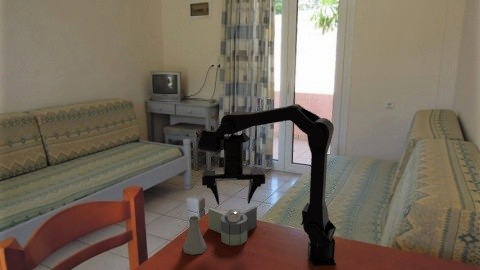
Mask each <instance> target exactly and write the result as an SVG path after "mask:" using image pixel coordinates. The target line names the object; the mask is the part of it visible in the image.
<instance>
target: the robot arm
mask: <svg viewBox="0 0 480 270" xmlns="http://www.w3.org/2000/svg"><path fill="white" fill-rule="evenodd" d="M286 121H291V122H292V123H293V124H294V125H295V126H296V127H297V128H298V129H299V130H300V131H301V132H303V133H304V134H305V135H306V136H307V144H308V148H309V151H310V154H311V157H310V159H311V160H310V162H311V163H310V182H309V202H306V204H305V205H304V207H303V209H302V210H301V217H302V218H301V223H300V225H301V226H302V227H303V231H304V232H305V233H306V234H307V235H308V236H307V237H308V238H309V241H308V242H307V256H308V258H309V259H310V261H311V263H312V265H313V266H320V265H321V266H325V265H326V266H327V265H336V264H337V261H336V259H335V252H336V251H335V250H336V240H335V238H334V234H335V233H336V230H337V227H336V226H335V224H334V223H333V222H332V221H331V220H330V218H329V211H328V207H327V203H326V188H327V187H326V185H327V184H326V183H327V170H328V169H327V167H328V153H329V150H330V146H331V144H332V143H331V142H332V139H333V135H334V131H335V127H334V124H333V122H332V121H331V120H330V119H328V118H324V117H321V116H319V115H318V114H316V113H314V112H312V111H310V110H308V109H306V108H304V107H303V106H302V105H301V104H298V103H293V104H291V105H287V106H282V107H275V108H270V109H264V110H261V111H260V110H259V111H255V112H254V111H253V112H252V111H251V112H250V111H234V112H231V113H228V114H225V115H223V116H222V118H221V120H220V125H219V126H218V127H217V129H216V130H212V129H209V128H205V129H202V130H201V133H202V134H201V135H200V138H199V141H198V149H199V150H200V151H201V152H206V153H214V154H220V153H221V152H222V151H223V156H221V157H218V167H219V168H223V173H218V174H217V173H216V170H204V171H202V173H201V185H202V186H204V187H205V186H206V188H207V189H210V190H211V192H212V194H213V196H214V199H215V201H216V203H217V205H219V206H220V196H219V190H218V182H220V181H221V182H222V181H248V184H249V185H248V191H247V204H248V205H249V204H250V203H251V200H252V198H253V196H254V194H255V192H256V191H257V189H258V188H260V187H262V185H264V184H266V175H265V172H264V170H263V169H250V173H249V172H247V173H244V144H245V143H247V142H249V141H250V140H251V138H250V136H248V135H247V134H246V133H245V132H242V131H245V130H247V129H249V128H252V127H257V126H263V125H269V124H276V123H281V122H286ZM239 132H242V133H241V134H237V133H239ZM227 135H228V136H227ZM229 135H230V136H229ZM217 181H218V182H217Z"/></svg>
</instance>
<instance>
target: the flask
mask: <svg viewBox="0 0 480 270" xmlns="http://www.w3.org/2000/svg"><path fill="white" fill-rule="evenodd" d="M199 220H200V216H199V215H191V216H189V217H188V222H189V226H188V232H187V235H186V238H185V241H184V243H183V246H182V250H183V253H184V254H187V255H190V256H191V255H192V256H194V255H201V254H204V252H205V251H206V250H207V249H208V246H207V244H206V242H205V239H204V236H203V235H202V232H201V229H200V226H199V225H200V224H199Z"/></svg>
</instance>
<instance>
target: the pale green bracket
mask: <svg viewBox="0 0 480 270" xmlns="http://www.w3.org/2000/svg"><path fill="white" fill-rule="evenodd" d="M207 211H208V229H210V230H212V231H214V232H217V233H219V234H221V235H220V236H221V237H220V239H221V242H222V243H224V244H225V245H227V246H242V245H243V244H244V243H246V242H247V241H248V232H247V231H246V232H244V233H242V234H240V235H230V234H229V235H228V234H226V233H224V232H222V231H221V216H222V215H225V214H226V212H222V211H220V210H217V209H215V208H212V207H209V208H208V210H207Z"/></svg>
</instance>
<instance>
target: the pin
mask: <svg viewBox="0 0 480 270" xmlns="http://www.w3.org/2000/svg"><path fill="white" fill-rule="evenodd" d="M226 213H227V214H228V221H229V222H239V221H240V213H241V210H239V209H237V208H236V209H229V210H228V211H227V212H226Z"/></svg>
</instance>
